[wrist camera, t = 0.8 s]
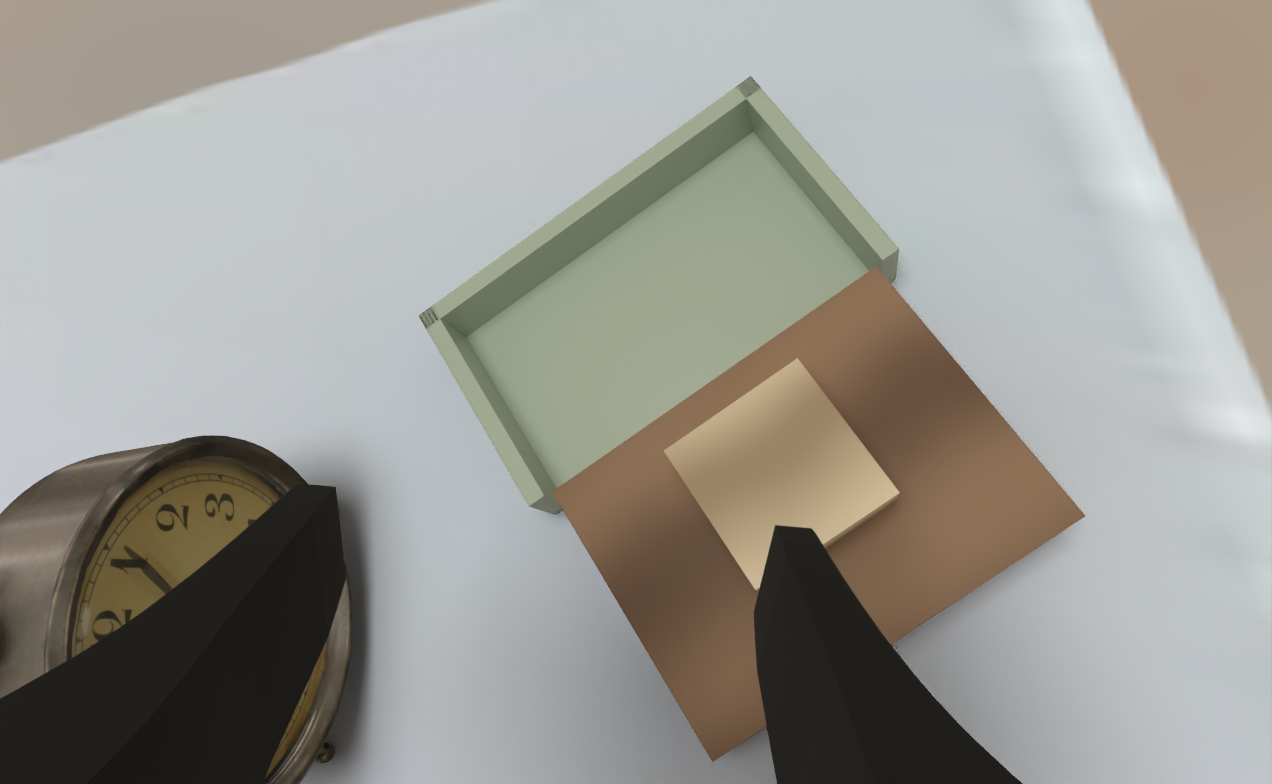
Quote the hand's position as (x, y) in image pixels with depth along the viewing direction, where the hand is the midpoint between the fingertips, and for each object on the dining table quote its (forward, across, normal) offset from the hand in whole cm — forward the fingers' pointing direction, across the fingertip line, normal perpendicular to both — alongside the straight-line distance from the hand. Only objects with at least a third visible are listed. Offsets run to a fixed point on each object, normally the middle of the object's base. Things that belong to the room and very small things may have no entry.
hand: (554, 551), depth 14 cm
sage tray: (+17, -2, +4) cm, 17 cm away
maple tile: (+9, -6, +5) cm, 12 cm away
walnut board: (+11, -7, +8) cm, 15 cm away
